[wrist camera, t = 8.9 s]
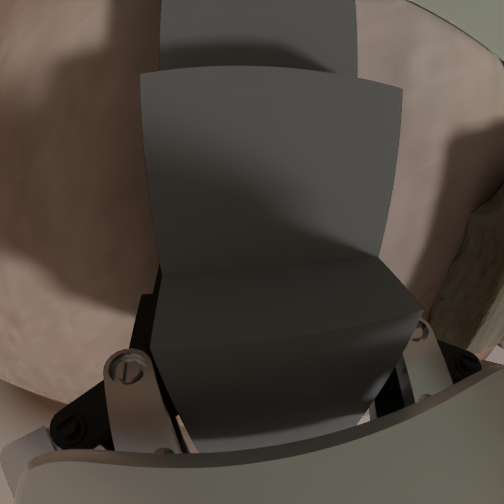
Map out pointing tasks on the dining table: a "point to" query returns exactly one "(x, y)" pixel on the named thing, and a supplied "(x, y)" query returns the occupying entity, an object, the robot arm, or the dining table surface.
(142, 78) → the grey stepped block
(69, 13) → the dining table surface
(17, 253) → the dining table surface
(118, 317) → the dining table surface
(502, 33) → the door
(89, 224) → the dining table surface
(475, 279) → the marble piece
